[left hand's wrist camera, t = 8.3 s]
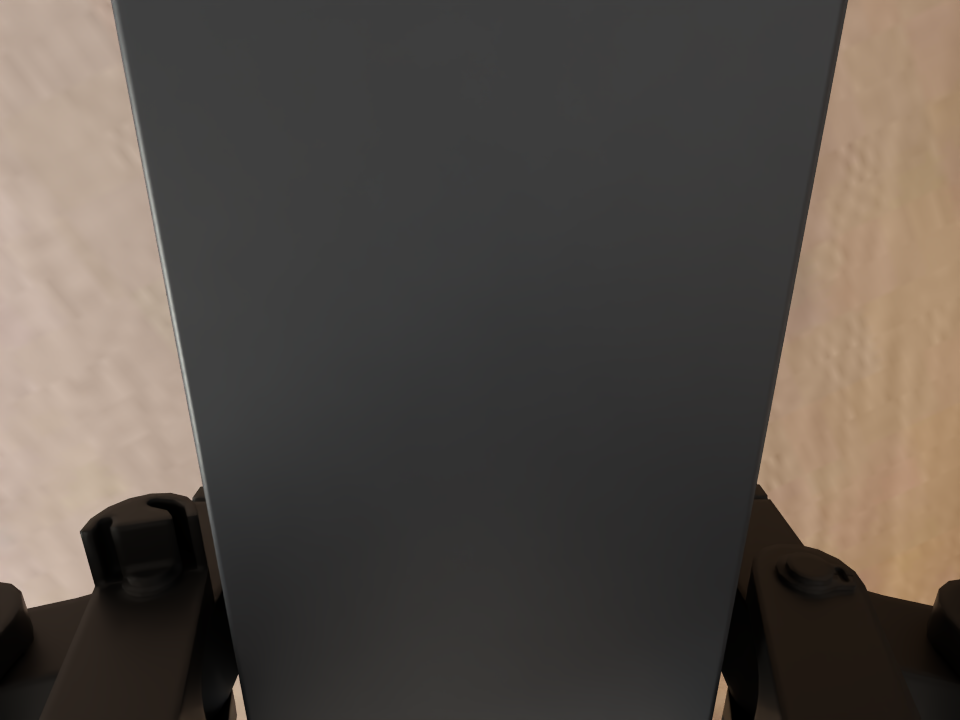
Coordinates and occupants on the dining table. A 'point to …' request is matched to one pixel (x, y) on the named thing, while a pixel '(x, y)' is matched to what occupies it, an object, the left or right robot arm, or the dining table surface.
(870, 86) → the dining table surface
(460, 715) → the bar
